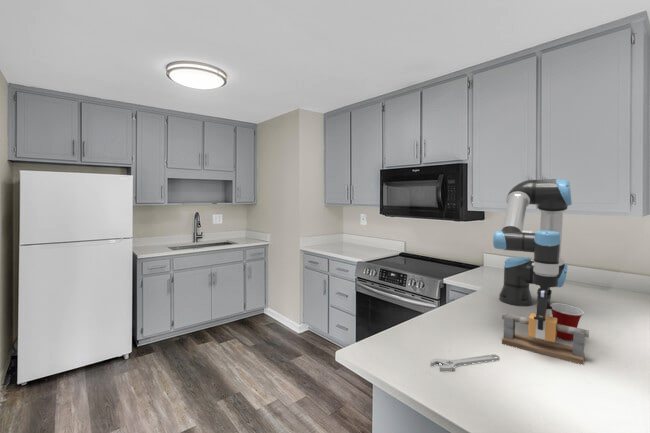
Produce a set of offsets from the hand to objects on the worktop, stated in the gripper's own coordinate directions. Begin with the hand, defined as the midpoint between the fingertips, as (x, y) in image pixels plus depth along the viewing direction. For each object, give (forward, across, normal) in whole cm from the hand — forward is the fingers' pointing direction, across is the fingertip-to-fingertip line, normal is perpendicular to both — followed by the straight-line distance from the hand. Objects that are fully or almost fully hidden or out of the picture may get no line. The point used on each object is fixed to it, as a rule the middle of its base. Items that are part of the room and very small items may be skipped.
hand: (542, 331), depth 119 cm
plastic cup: (+6, -17, +6) cm, 19 cm away
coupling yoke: (+2, 0, 0) cm, 2 cm away
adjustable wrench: (+7, +29, -18) cm, 35 cm away
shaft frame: (+6, 0, 0) cm, 6 cm away
